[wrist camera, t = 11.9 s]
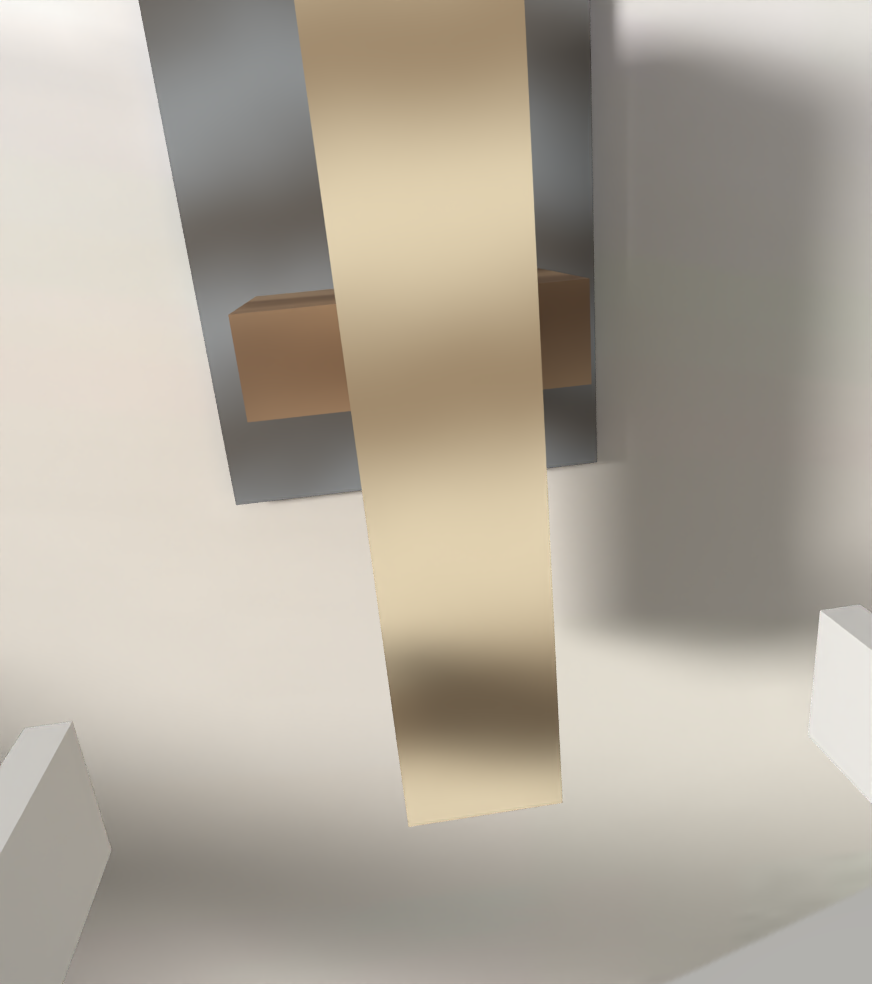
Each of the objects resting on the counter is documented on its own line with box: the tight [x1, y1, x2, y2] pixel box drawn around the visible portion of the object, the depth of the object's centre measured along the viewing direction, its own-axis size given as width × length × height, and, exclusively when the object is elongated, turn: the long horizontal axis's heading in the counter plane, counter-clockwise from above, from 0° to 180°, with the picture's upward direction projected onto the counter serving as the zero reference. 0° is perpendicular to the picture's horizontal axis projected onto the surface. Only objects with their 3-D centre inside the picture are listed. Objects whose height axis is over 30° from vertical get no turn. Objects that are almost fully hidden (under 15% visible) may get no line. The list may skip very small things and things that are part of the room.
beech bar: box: [294, 0, 562, 827], centre depth 18 cm, size 22×4×6 cm, turn 6°
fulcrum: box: [139, 0, 597, 505], centre depth 23 cm, size 18×14×7 cm
